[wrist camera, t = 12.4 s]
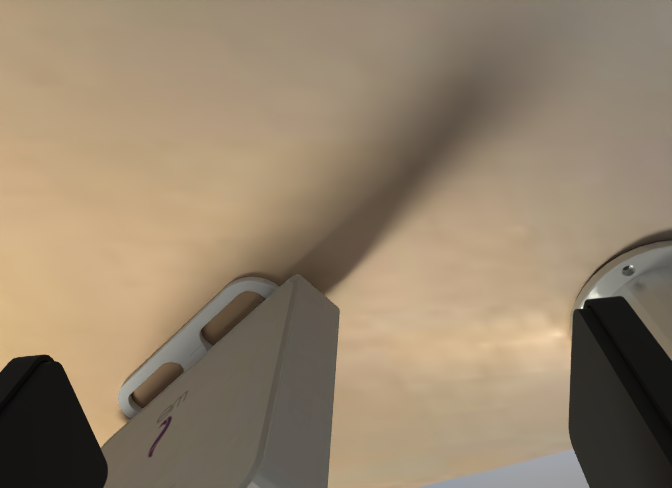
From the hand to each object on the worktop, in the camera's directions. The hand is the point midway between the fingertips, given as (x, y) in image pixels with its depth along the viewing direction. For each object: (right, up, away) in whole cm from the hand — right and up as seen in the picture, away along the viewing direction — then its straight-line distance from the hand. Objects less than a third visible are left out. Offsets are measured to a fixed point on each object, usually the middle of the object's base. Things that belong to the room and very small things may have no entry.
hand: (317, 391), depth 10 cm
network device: (-9, -7, +36) cm, 38 cm away
